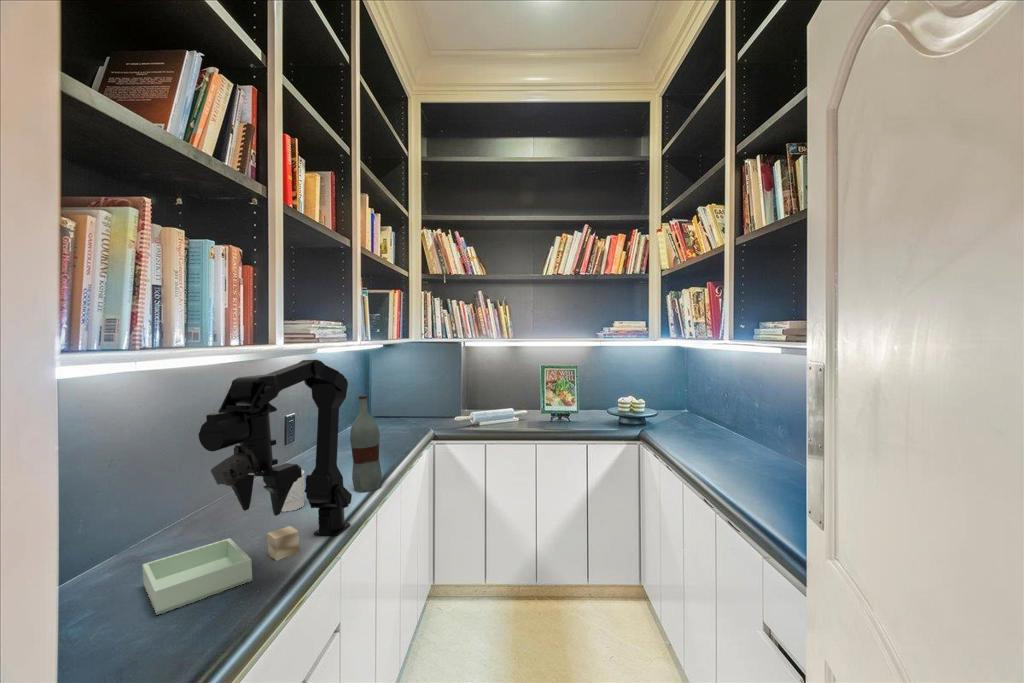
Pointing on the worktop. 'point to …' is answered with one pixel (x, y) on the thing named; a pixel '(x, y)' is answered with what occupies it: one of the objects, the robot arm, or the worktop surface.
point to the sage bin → (195, 574)
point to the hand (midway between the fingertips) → (261, 512)
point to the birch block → (283, 543)
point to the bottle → (365, 450)
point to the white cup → (295, 496)
